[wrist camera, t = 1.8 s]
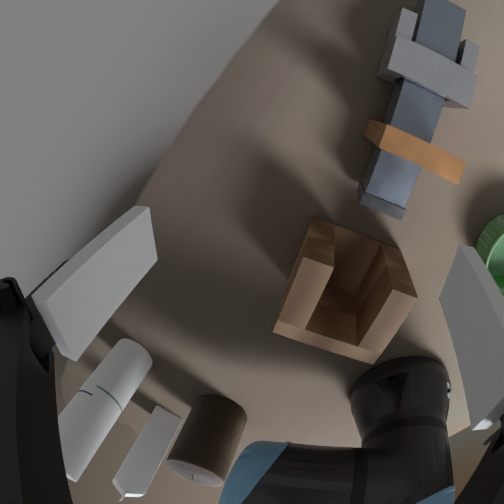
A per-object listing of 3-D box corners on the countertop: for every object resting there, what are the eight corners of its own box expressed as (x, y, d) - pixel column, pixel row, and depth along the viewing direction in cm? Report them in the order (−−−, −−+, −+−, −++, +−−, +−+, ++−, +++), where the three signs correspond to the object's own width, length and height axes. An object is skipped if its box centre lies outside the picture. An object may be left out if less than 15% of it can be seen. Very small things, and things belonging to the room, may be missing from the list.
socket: (400, 249, 30) (418, 298, 22) (368, 308, 34) (373, 364, 26) (312, 216, 31) (303, 256, 23) (287, 280, 35) (272, 332, 27)
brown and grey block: (459, 28, 18) (505, 3, 9) (400, 207, 28) (426, 252, 19) (402, 0, 19) (430, -40, 10) (345, 184, 28) (350, 221, 20)
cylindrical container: (112, 334, 48) (25, 441, 26) (147, 344, 46) (61, 467, 25) (123, 363, 51) (49, 465, 29) (156, 373, 50) (84, 488, 28)
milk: (151, 414, 58) (104, 493, 39) (157, 404, 55) (105, 490, 36) (175, 428, 58) (133, 509, 39) (183, 419, 55) (137, 508, 36)
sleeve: (457, 54, 20) (484, 45, 14) (442, 107, 23) (468, 108, 17) (391, 23, 20) (405, 3, 15) (375, 76, 23) (387, 68, 18)
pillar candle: (213, 387, 47) (177, 463, 34) (258, 417, 48) (233, 491, 35) (186, 403, 52) (152, 468, 39) (227, 430, 53) (201, 494, 40)
